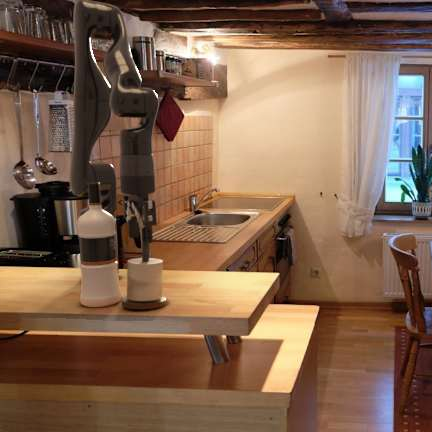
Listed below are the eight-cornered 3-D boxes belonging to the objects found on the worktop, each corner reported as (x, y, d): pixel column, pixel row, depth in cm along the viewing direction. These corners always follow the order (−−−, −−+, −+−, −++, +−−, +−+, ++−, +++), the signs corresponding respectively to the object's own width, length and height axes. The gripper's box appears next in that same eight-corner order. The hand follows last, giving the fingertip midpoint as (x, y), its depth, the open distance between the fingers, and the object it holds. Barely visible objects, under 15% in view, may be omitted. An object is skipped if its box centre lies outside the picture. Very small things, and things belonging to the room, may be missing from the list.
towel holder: (156, 296, 145) (115, 301, 138) (158, 234, 143) (117, 236, 136) (172, 305, 138) (130, 311, 131) (175, 240, 136) (132, 243, 129)
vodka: (76, 301, 140) (68, 181, 136) (116, 294, 146) (109, 179, 141) (85, 310, 133) (76, 184, 128) (126, 303, 139) (119, 182, 134)
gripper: (165, 175, 130) (168, 243, 133) (141, 170, 140) (144, 233, 143) (132, 176, 125) (135, 247, 128) (110, 171, 135) (113, 237, 138)
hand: (140, 240), depth 135 cm, fingers open, 8 cm apart
